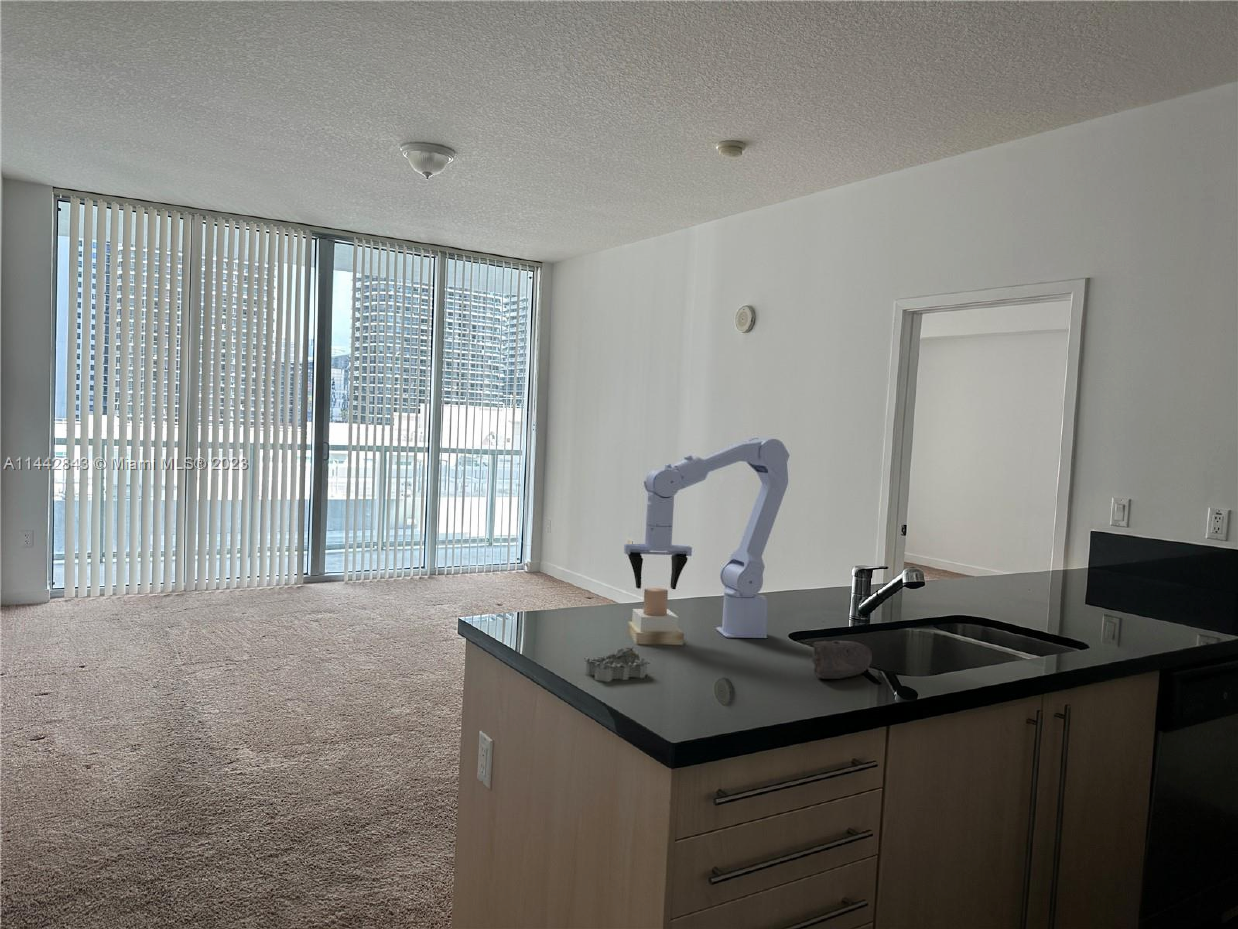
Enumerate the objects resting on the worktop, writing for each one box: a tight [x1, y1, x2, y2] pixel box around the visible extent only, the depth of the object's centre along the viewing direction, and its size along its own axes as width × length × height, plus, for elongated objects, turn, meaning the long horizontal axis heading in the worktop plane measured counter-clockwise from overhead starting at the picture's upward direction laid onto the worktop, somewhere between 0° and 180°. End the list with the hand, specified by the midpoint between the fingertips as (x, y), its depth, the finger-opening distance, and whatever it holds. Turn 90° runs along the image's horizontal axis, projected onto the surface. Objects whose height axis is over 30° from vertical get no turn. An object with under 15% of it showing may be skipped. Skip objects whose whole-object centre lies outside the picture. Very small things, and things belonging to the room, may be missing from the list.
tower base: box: [627, 621, 685, 646], centre depth 176 cm, size 10×10×3 cm
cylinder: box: [642, 587, 669, 616], centre depth 175 cm, size 5×5×5 cm
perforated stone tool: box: [811, 640, 873, 680], centre depth 154 cm, size 15×5×7 cm, turn 119°
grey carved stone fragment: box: [583, 646, 651, 683], centre depth 147 cm, size 11×8×4 cm
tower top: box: [631, 608, 679, 632], centre depth 176 cm, size 8×8×3 cm
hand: (655, 588), depth 177 cm, fingers open, 7 cm apart
